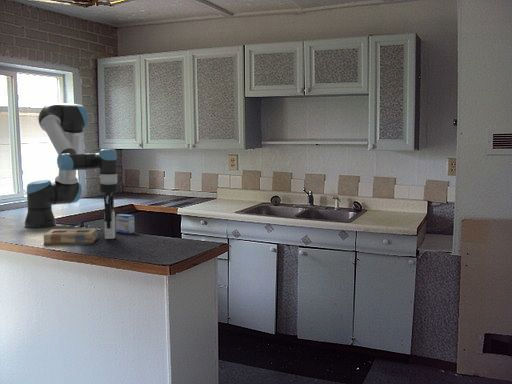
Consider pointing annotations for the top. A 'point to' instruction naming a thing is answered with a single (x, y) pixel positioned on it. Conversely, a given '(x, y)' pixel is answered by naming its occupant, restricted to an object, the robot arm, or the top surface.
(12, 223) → the top surface
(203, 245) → the top surface
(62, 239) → the socket block
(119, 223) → the medicine box
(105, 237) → the plug
